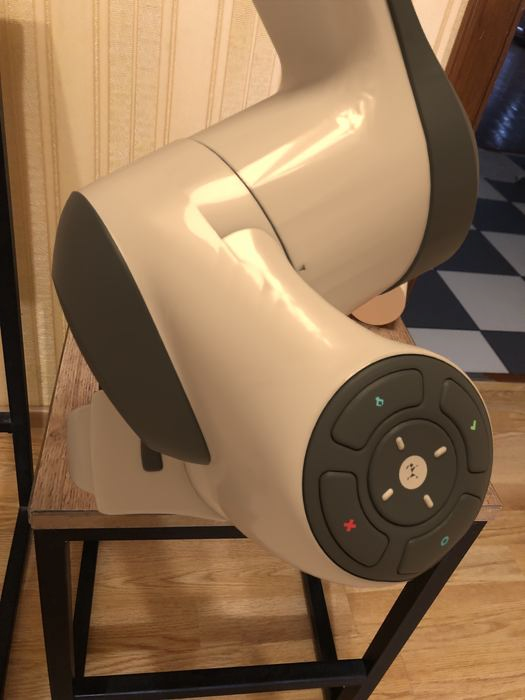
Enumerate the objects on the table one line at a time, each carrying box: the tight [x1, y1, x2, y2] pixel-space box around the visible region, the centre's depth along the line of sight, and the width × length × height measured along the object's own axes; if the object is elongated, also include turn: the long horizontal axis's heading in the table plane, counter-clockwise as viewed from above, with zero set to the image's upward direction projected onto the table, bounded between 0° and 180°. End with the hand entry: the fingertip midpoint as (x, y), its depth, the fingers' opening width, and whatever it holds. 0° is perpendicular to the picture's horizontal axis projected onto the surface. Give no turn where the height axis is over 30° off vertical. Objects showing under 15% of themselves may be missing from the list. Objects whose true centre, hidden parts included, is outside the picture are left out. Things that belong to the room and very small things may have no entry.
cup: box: [351, 281, 409, 326], centre depth 86 cm, size 8×12×10 cm
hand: (204, 426), depth 45 cm, fingers open, 8 cm apart
